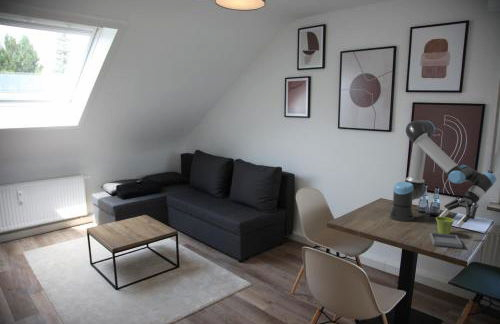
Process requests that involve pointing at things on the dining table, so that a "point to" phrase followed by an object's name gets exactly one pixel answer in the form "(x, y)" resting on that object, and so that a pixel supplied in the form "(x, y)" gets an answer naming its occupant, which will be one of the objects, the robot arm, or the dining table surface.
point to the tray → (445, 240)
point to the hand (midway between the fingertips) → (449, 221)
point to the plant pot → (444, 225)
